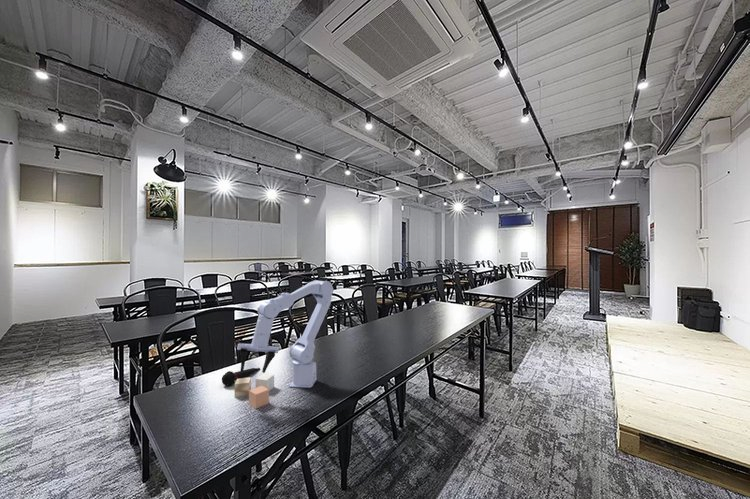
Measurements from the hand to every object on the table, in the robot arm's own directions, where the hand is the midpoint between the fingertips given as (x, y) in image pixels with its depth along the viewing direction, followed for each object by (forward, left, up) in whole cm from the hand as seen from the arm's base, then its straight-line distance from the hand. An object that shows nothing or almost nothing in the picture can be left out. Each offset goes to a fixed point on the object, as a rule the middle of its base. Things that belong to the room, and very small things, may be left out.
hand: (252, 371), depth 106 cm
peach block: (-3, +1, -11) cm, 12 cm away
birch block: (+7, -6, -11) cm, 14 cm away
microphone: (+14, -19, -11) cm, 26 cm away
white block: (0, -10, -11) cm, 15 cm away
